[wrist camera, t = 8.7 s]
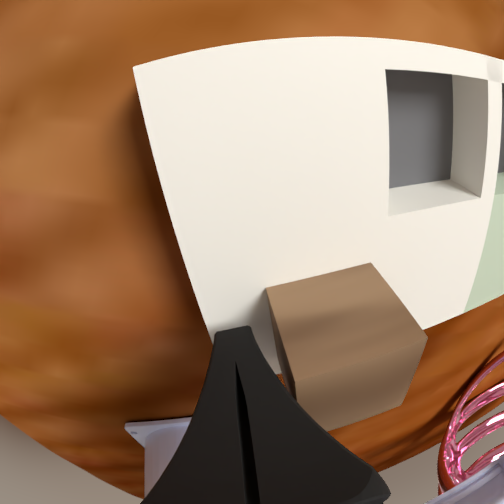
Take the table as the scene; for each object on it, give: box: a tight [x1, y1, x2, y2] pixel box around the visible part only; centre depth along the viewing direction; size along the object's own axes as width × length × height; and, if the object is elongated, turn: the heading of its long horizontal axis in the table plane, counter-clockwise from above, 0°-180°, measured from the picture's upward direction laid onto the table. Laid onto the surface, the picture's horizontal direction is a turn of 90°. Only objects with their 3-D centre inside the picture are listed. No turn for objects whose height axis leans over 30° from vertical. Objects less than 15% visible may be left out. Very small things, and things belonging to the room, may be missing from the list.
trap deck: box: [133, 37, 504, 374], centre depth 11 cm, size 13×19×4 cm
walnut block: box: [266, 262, 428, 432], centre depth 10 cm, size 4×4×4 cm
